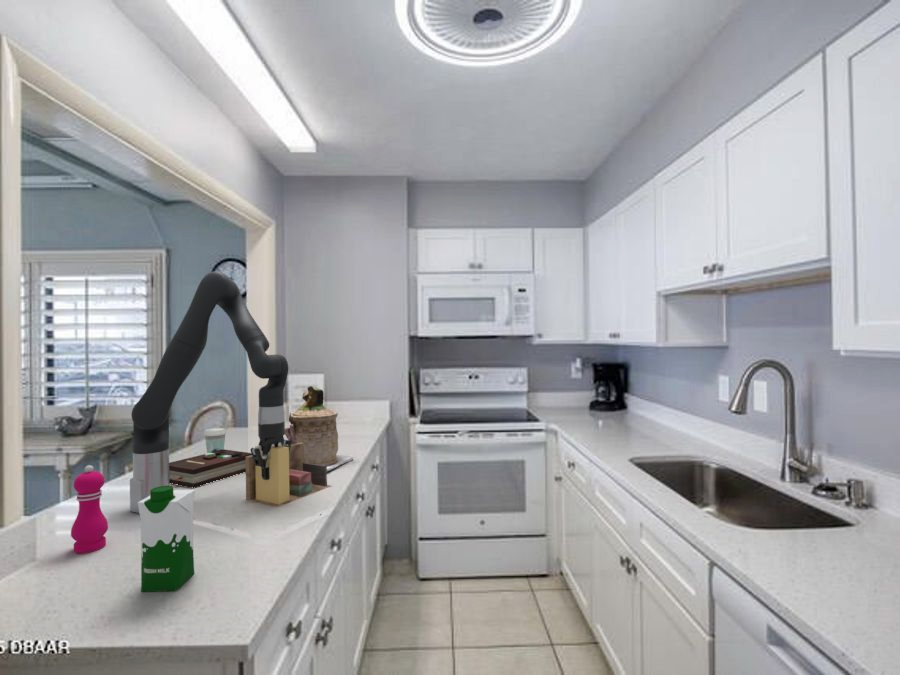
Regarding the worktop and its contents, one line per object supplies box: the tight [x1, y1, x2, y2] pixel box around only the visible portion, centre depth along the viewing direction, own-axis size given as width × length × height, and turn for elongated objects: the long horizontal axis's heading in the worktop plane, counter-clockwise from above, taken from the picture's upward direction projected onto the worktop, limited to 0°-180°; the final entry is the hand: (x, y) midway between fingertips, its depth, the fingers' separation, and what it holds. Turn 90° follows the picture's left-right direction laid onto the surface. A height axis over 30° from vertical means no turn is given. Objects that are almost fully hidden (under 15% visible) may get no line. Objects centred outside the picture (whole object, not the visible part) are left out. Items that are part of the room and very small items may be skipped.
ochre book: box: [255, 445, 290, 504], centre depth 145 cm, size 4×10×16 cm, turn 61°
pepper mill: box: [70, 464, 109, 554], centre depth 116 cm, size 7×7×20 cm
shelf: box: [245, 443, 331, 508], centre depth 152 cm, size 22×14×14 cm, turn 151°
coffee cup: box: [203, 427, 227, 454], centre depth 206 cm, size 8×8×12 cm
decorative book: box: [169, 448, 252, 489], centre depth 178 cm, size 19×8×30 cm
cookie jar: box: [284, 385, 354, 472], centre depth 191 cm, size 25×25×32 cm
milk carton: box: [138, 485, 196, 593], centre depth 99 cm, size 9×9×20 cm
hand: (272, 477), depth 145 cm, fingers closed on ochre book, 4 cm apart
